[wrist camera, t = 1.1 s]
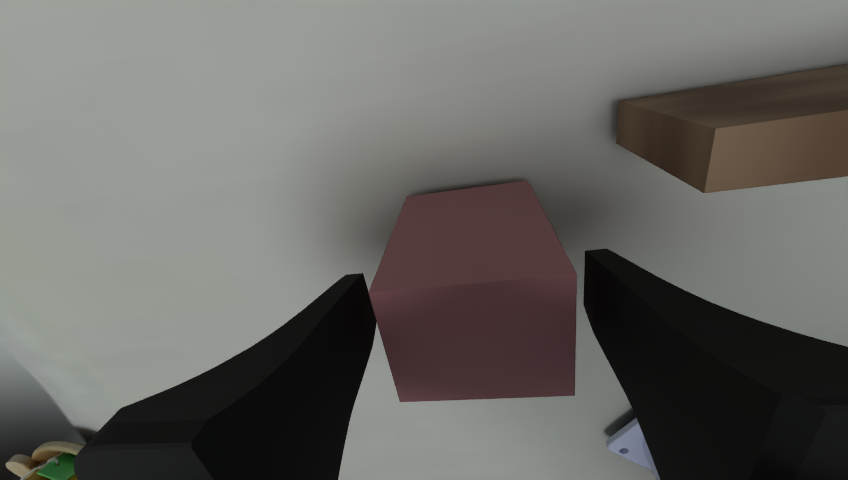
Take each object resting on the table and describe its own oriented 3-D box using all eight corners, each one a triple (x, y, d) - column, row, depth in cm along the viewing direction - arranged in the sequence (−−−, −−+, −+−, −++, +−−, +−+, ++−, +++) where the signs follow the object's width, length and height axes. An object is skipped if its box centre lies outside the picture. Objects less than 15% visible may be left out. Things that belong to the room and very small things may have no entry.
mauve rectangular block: (527, 180, 14) (576, 274, 8) (531, 265, 16) (574, 395, 10) (406, 196, 15) (367, 292, 9) (422, 275, 17) (399, 402, 11)
